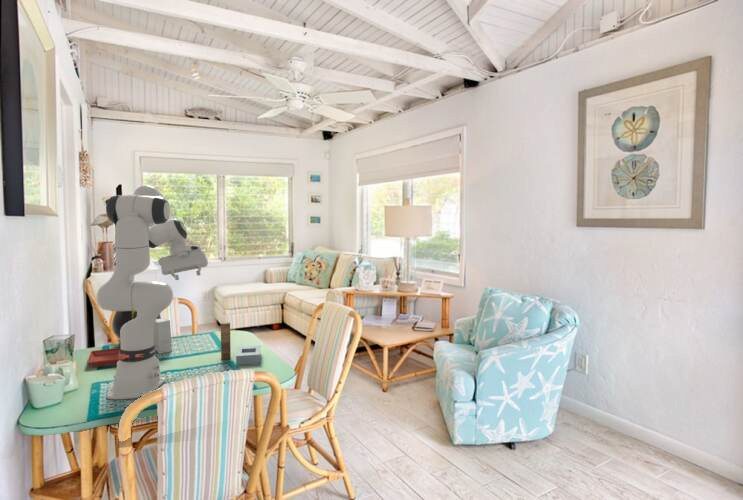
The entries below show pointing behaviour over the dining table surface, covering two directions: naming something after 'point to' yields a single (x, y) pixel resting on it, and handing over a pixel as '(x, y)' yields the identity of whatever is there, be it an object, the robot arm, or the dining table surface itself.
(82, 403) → the dining table surface
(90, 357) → the plant saucer
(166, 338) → the skincare box
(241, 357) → the socket block
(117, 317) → the amphora vase
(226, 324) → the walnut dowel
